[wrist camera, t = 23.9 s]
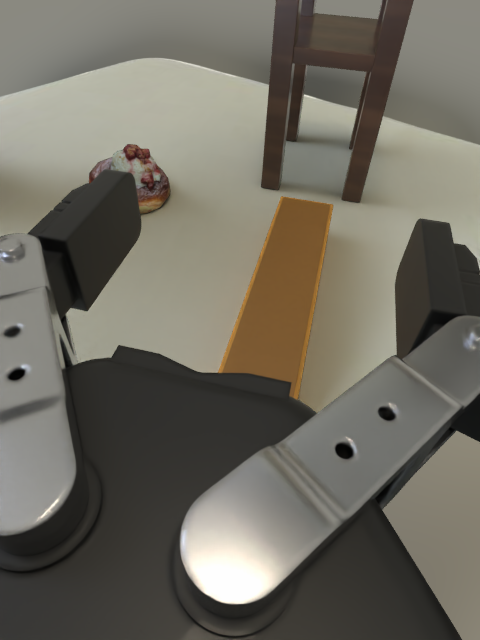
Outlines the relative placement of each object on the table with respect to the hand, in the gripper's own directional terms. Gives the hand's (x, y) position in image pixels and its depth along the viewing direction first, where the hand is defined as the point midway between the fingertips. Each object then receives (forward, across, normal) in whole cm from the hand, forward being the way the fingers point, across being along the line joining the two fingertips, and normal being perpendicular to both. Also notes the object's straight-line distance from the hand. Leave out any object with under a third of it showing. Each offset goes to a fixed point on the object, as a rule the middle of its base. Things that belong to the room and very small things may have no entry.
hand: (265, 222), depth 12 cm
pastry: (+24, +17, +15) cm, 33 cm away
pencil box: (+12, 0, +15) cm, 19 cm away
